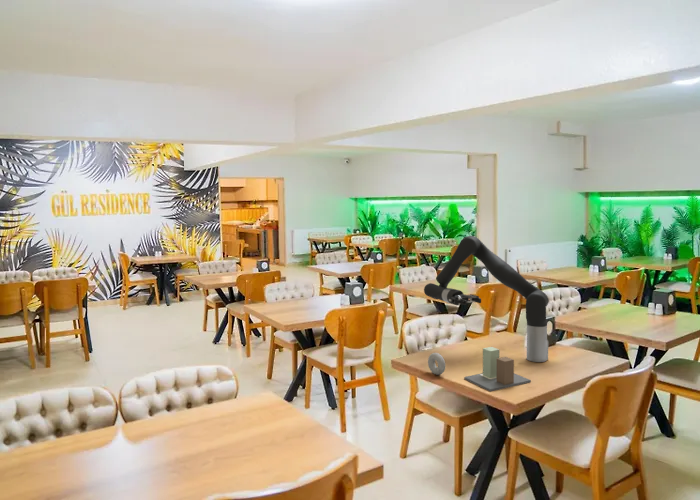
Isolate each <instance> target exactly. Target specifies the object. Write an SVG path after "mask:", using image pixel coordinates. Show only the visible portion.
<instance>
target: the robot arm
mask: <svg viewBox="0 0 700 500" xmlns="http://www.w3.org/2000/svg"><path fill="white" fill-rule="evenodd" d="M452 254H453V255H452V256H451V258H450V259H449V260H448V261H447V263H446V264H445V265H444V267H443V268H442V269H441V271H439V273H438V274H437V276H436V278H435V280H436V282H437V283H438V284H435V283H431V282H430V283H427V284H426V285H425V286H424V288H423V292H424V294H425V295H426V296H427V297H429V298H431V299H434V300H438V301H439V300H440V301H442V302H444V303H448V304H450V305H453V306H460V305H463V306H466V305H468V304H469V303H470V304H471V303H477V304H482V298H480V296H479V295H476V294H464V292H463V291H462V290H459V289H455V288H452V287H451V288H450V287H448V285H449V284H450V282H452V280H453V279H454V277H455V276H456V275H457V273H458V272H459V269H460V268H461V266H462V264H463V263H464V261H466V260H467V259H468V258H469V257H470V256H473V257H475V258H476V259H477V260H479V261H480V262H481V263H482V264H483V265H484V267H485V268H486V269H487V271H488V272H489V273H490V275H491V276H492V277H494V278H495V279H496V281H498V282H499V283H501V284H502V285H504V286H506V287H507V288H509V289H511V290H513V291H516V292H517V293H518V294H519V295H520V296H522V297H523V298H524V299H525V318H526V360H527V361H529V362H533V363H544V362H547V360H549V339H548V320H547V307H548V304H549V297H548V295H547V294H546V293H545V291H543V290H541V289H540V288H538V287H537V286H535V285H534V284H532V283H531V282H529V281H528V280H527V279H526V278H525V277H524V276H522V274H520V273H519V272H518V271H517V270H516V269H515V268H513V267H512V266H511V265H510V264H508V263H507V262H506V261H505V260H503V259H502V258H501V257H500V256H498V255H497V254H495V253H494V252H493V251H491V250H490V249H489V248H488V247H487V245H485V243H483V242H482V241H481V239H480V238H479V237H477V236H474V235H469V236H465V237H463V238H462V239H461V240H460V242H459V244H458V245H457V248H456V250H455V251H454V253H452Z"/></svg>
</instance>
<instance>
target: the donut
mask: <svg viewBox="0 0 700 500" xmlns="http://www.w3.org/2000/svg"><path fill="white" fill-rule="evenodd" d="M436 362H437V365H436ZM427 366H428V369H429V370H430V372H431V373H432V374H433V375H435V374H436V375H437V376H440V375H443V373H444V372H445V370H446V360H445V359H444V357H443V355H441V353H439V352H432V353H431V354H430V355H429V356H428V359H427Z"/></svg>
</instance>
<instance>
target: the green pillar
mask: <svg viewBox="0 0 700 500" xmlns="http://www.w3.org/2000/svg"><path fill="white" fill-rule="evenodd" d="M497 358H500V349H499V348H497V347H493V346H488V347H484V348H482V373H483V375H484V376H486V377H489V378H494V377H497Z"/></svg>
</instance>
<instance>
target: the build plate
mask: <svg viewBox="0 0 700 500" xmlns="http://www.w3.org/2000/svg"><path fill="white" fill-rule="evenodd" d="M463 378H464V379H463V380H465V381H468V382H470V383H472V384H474V385H476V386H477V387H480V388H482V389H484V390H486V391H488V392H494V391H499V390H503V389H508V388H511V387H517V386H521V385H525V384H530V383H531V382H532V381H531V379H530V378H527V377H524V376H521V375H519V374H517V373H515V360H514V358H510V357H508V356H502V357H499V358H497V377H494V378H489V377H486V376H484V375H483V372H482V373H477V374H472V375H468V376H463Z"/></svg>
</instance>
